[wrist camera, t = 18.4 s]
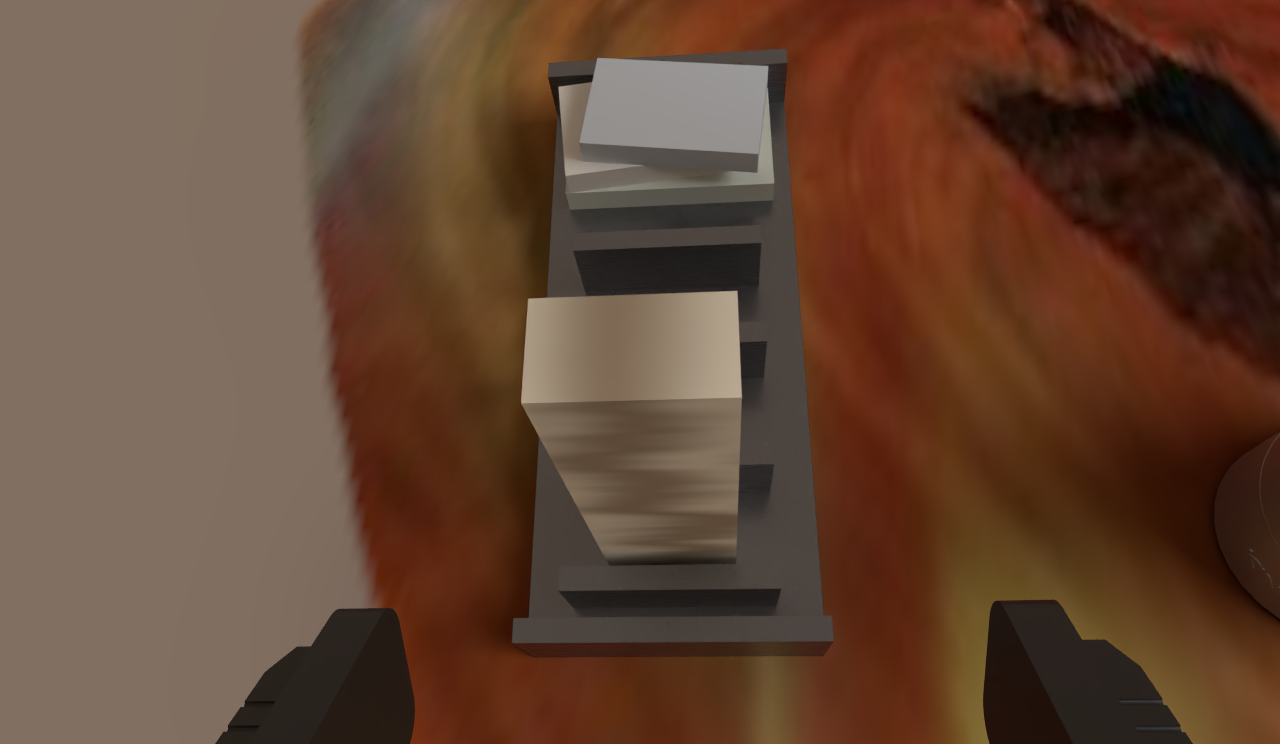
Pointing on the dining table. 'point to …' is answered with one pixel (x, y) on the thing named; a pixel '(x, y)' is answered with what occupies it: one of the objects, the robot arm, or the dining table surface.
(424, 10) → the dining table surface
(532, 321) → the beige tall block
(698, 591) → the rack
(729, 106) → the offcut stack
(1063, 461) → the dining table surface
